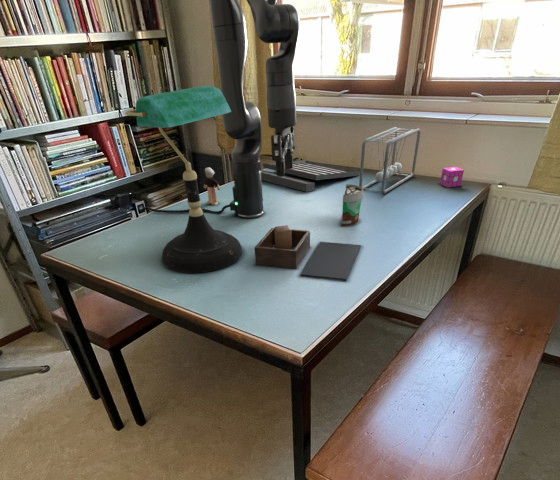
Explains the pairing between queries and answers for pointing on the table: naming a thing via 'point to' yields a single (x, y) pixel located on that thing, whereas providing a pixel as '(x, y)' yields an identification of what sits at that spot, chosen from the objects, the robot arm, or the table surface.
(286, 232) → the wooden block
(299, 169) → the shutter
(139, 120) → the banker's lamp
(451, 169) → the puzzle toy
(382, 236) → the table surface
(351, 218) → the food container
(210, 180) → the grandmother figurine
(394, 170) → the newton's cradle
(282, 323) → the table surface
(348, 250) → the mat
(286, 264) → the crate
